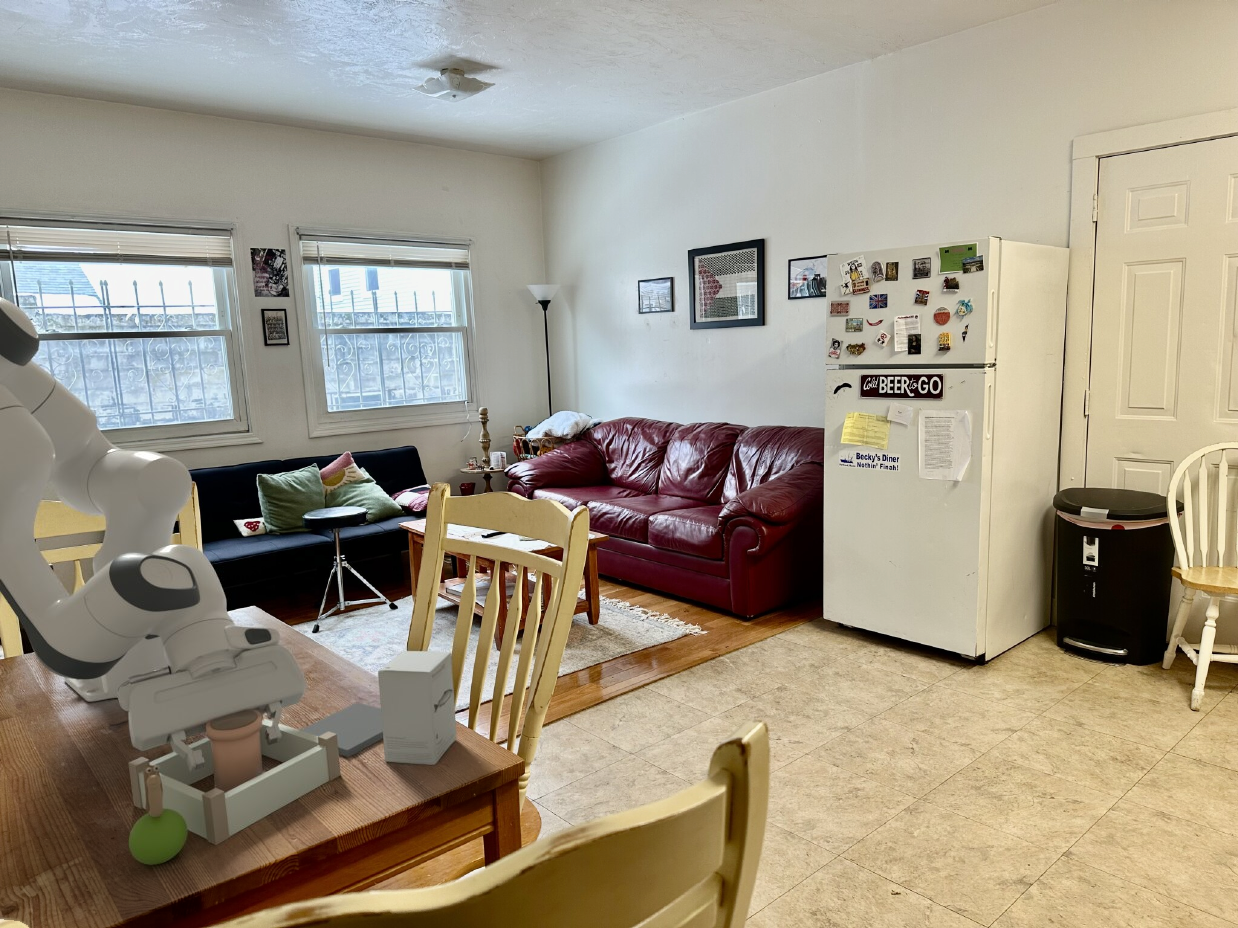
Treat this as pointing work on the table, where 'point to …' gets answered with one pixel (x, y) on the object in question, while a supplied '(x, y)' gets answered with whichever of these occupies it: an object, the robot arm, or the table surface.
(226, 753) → the terracotta pot
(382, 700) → the supplement box
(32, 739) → the table surface
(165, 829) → the snail figurine
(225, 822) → the raised garden bed frame
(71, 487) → the robot arm
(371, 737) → the rubber mat
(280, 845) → the table surface
